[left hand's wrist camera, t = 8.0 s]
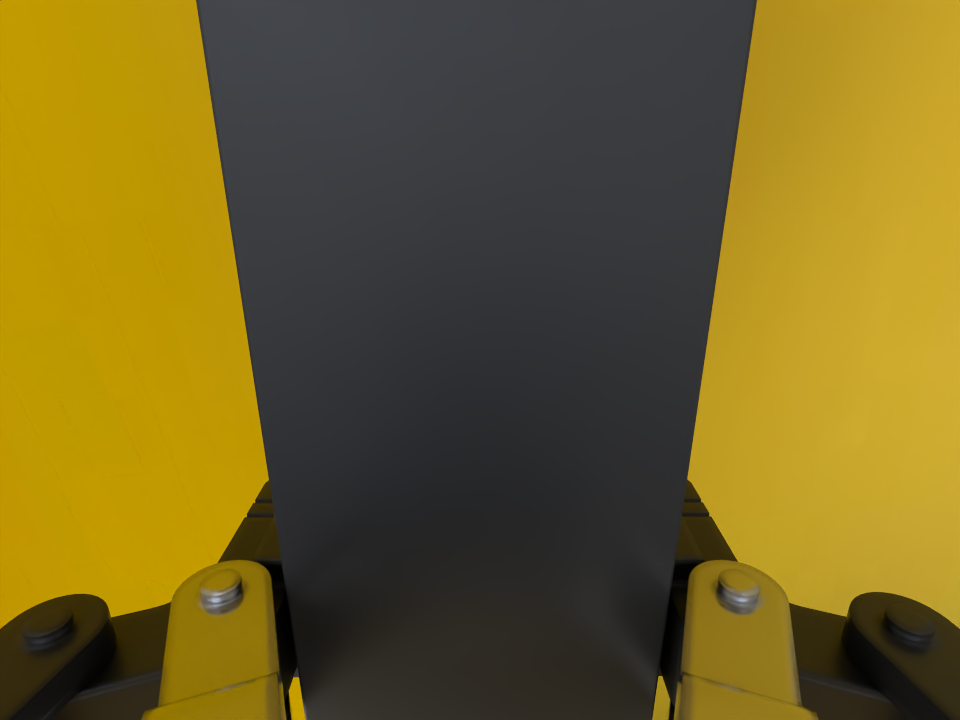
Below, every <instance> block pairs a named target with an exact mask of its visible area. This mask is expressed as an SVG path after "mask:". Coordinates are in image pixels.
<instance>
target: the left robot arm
mask: <svg viewBox="0 0 960 720" xmlns="http://www.w3.org/2000/svg"><path fill="white" fill-rule="evenodd" d="M658 676H663V679H664V682H665V685H666V688H667V691H668V694H669V697H670V702H669V709H668V718H667V720H960V629H959V628H958V627H956V626H955V625H954V624H953V623H951V622H950V621H949V620H948V619H946V618H945V617H944V616H942V615H941V614H939V613H938V612H936V611H935V610H933V609H931V608H929V607H927V606H925V605H924V604H922V603H919V602H917V601H914V600H912V599H909V598H906V597H903V596H900V595H895V594H891V593H884V592H871V593H865V594H861V595H859V596H857V597H855V598H854V599H853V600H852V602H851V604H850V607H849V610H848V614H847V617H844V616H840V615H836V614H831V613H827V612H822V611H818V610H814V609H809V608H805V607H801V606H797V605H794V604H791V603H789V602H788V598H787V596H786V594H785V592H784V590H783V589H782V588H781V586H780V585H779V584H778V583H777V582H776V581H775V580H773V579H772V578H771V577H770V576H768V575H767V574H765V573H764V572H762V571H760V570H758V569H756V568H754V567H752V566H749V565H746V564H743V563H739V562H738V561H737V559H736V558H735V556H734V554H733V553H732V551H731V549H730V548H729V546H728V544H727V543H726V541H725V539H724V537H723V536H722V534H721V532H720V531H719V529H718V527H717V526H716V524H715V522H714V521H713V519H712V517H709V512H708V510H707V509H706V507H705V505H704V504H703V503H701V499H700V497H699V495H698V493H697V492H696V490H695V488H694V487H693V485H692V483H691V482H690V481H688V480H687V483H686V490H685V496H684V503H683V510H682V517H681V524H680V531H679V538H678V544H677V551H676V558H675V565H674V572H673V579H672V586H671V592H670V599H669V606H668V613H667V620H666V627H665V634H664V640H663V647H662V654H661V661H660V668H659V675H658ZM293 677H299V673H298V667H297V660H296V653H295V647H294V640H293V634H292V627H291V620H290V614H289V607H288V601H287V594H286V588H285V581H284V574H283V568H282V561H281V555H280V548H279V542H278V535H277V528H276V522H275V515H274V509H273V502H272V496H271V489H270V482H269V481H268V482H266V483H265V485H264V486H263V488H262V490H261V491H260V493H259V495H258V496H257V498H256V500H255V503H253V505H252V506H251V508H250V510H249V511H248V513H247V517H245V518H244V520H243V521H242V523H241V525H240V526H239V528H238V530H237V531H236V533H235V535H234V536H233V538H232V540H231V541H230V543H229V545H228V546H227V548H226V550H225V551H224V553H223V555H222V557H221V558H220V560H219V562H218V563H217V564H214V565H211V566H208V567H206V568H204V569H202V570H200V571H198V572H196V573H195V574H193V575H192V576H190V577H189V578H188V579H187V580H185V581H184V582H183V583H182V584H181V585H180V586H179V588H178V589H177V590H176V592H175V594H174V596H173V598H172V601H171V602H170V603H167V604H165V605H162V606H158V607H155V608H151V609H147V610H142V611H138V612H133V613H129V614H125V615H120V616H116V617H112V618H111V616H110V612H109V609H108V606H107V604H106V602H105V601H104V600H103V599H101V598H99V597H97V596H94V595H89V594H73V595H66V596H62V597H58V598H54V599H51V600H48V601H45V602H43V603H41V604H38V605H36V606H34V607H32V608H30V609H28V610H26V611H25V612H23V613H21V614H20V615H18V616H17V617H15V618H14V619H13V620H11V621H10V622H9V623H7V624H6V625H5V626H4V627H2V628H1V629H0V720H293V718H292V709H291V703H290V696H289V688H290V685H291V682H292V679H293Z"/></svg>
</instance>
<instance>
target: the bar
mask: <svg viewBox="0 0 960 720" xmlns="http://www.w3.org/2000/svg"><path fill="white" fill-rule="evenodd" d="M196 2H197V9H198V15H199V22H200V29H201V35H202V42H203V48H204V55H205V61H206V68H207V75H208V81H209V88H210V94H211V101H212V108H213V114H214V121H215V127H216V134H217V140H218V147H219V154H220V160H221V167H222V173H223V180H224V186H225V193H226V200H227V206H228V213H229V219H230V226H231V232H232V239H233V246H234V252H235V259H236V265H237V272H238V279H239V285H240V292H241V298H242V305H243V311H244V318H245V325H246V331H247V338H248V344H249V351H250V357H251V364H252V371H253V377H254V384H255V390H256V397H257V403H258V410H259V417H260V423H261V430H262V436H263V443H264V449H265V456H266V463H267V469H268V476H269V482H270V489H271V496H272V502H273V509H274V515H275V522H276V528H277V535H278V542H279V548H280V555H281V561H282V568H283V574H284V581H285V588H286V594H287V601H288V607H289V614H290V620H291V627H292V634H293V640H294V647H295V653H296V660H297V667H298V673H299V680H300V686H301V693H302V699H303V706H304V713H305V719H306V720H652V716H653V709H654V702H655V695H656V688H657V682H658V675H659V668H660V661H661V654H662V647H663V640H664V634H665V627H666V620H667V613H668V606H669V599H670V592H671V586H672V579H673V572H674V565H675V558H676V551H677V544H678V538H679V531H680V524H681V517H682V510H683V503H684V496H685V490H686V483H687V476H688V469H689V462H690V455H691V448H692V442H693V435H694V428H695V421H696V414H697V407H698V400H699V394H700V387H701V380H702V373H703V366H704V359H705V352H706V346H707V339H708V332H709V325H710V318H711V311H712V304H713V298H714V291H715V284H716V277H717V270H718V263H719V256H720V250H721V243H722V236H723V229H724V222H725V215H726V208H727V202H728V195H729V188H730V181H731V174H732V167H733V160H734V154H735V147H736V140H737V133H738V126H739V119H740V112H741V106H742V99H743V92H744V85H745V78H746V71H747V64H748V58H749V51H750V44H751V37H752V30H753V23H754V16H755V9H756V3H757V0H196Z"/></svg>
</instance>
